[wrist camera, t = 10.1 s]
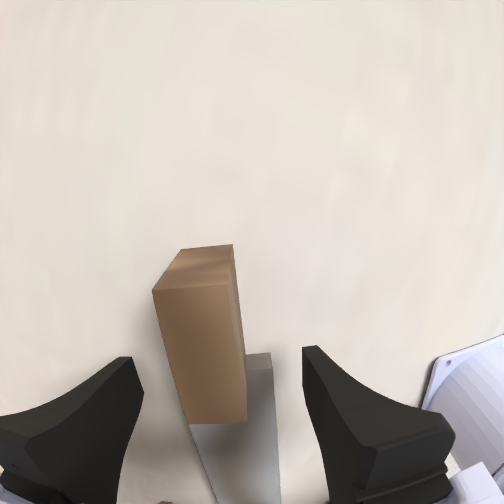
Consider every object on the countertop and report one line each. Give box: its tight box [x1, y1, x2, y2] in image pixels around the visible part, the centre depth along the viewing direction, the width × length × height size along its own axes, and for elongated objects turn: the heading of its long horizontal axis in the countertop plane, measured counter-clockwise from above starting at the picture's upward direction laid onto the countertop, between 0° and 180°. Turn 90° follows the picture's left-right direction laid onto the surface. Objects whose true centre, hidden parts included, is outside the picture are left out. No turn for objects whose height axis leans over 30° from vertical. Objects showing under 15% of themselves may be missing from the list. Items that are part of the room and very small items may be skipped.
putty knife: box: [152, 244, 281, 504], centre depth 15 cm, size 5×22×5 cm, turn 5°
